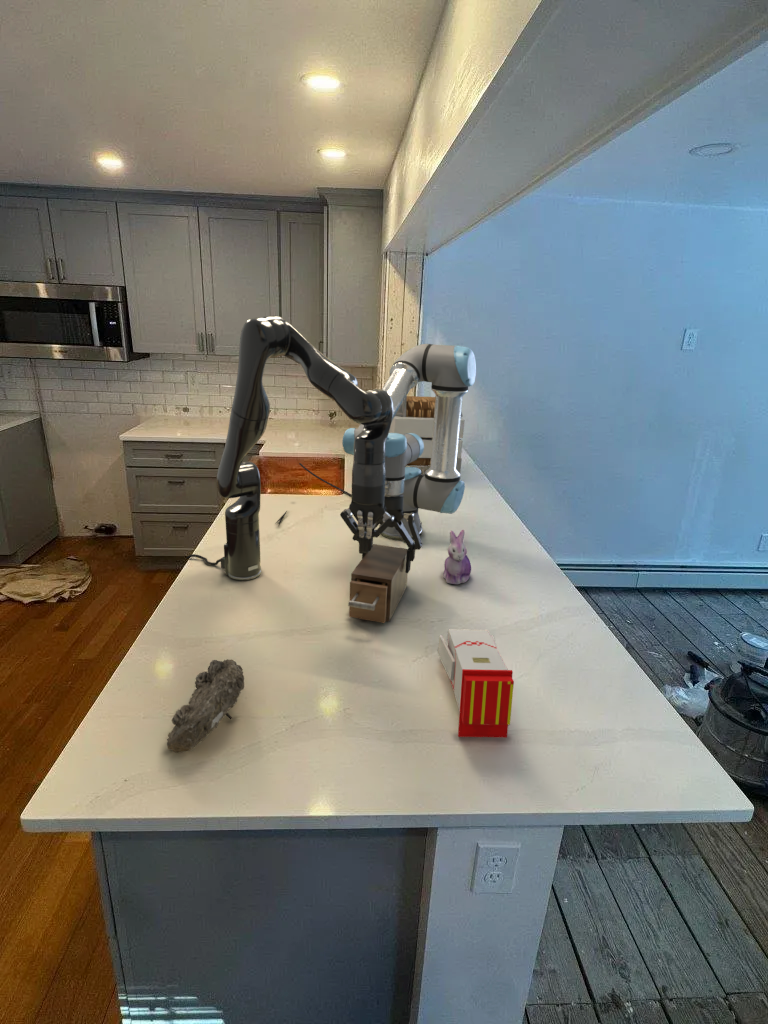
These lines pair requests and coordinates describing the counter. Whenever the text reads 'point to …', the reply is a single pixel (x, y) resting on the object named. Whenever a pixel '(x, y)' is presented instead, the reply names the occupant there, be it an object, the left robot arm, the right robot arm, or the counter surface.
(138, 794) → the counter surface
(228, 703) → the fossil
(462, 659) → the toy
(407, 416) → the white tiered storage organizer
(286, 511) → the feather
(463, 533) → the figurine
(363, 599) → the drawer
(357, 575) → the cabinet
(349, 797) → the counter surface
